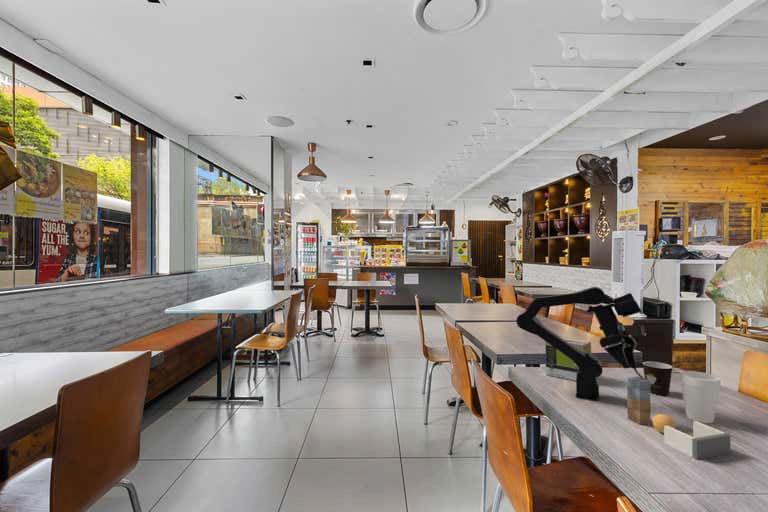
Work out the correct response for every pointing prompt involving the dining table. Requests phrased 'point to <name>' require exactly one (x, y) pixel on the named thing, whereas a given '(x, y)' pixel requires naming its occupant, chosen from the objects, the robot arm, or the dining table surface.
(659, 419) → the ball
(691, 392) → the foam cup
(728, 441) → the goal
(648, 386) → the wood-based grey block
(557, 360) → the tea box
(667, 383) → the coffee mug
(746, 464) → the dining table surface
